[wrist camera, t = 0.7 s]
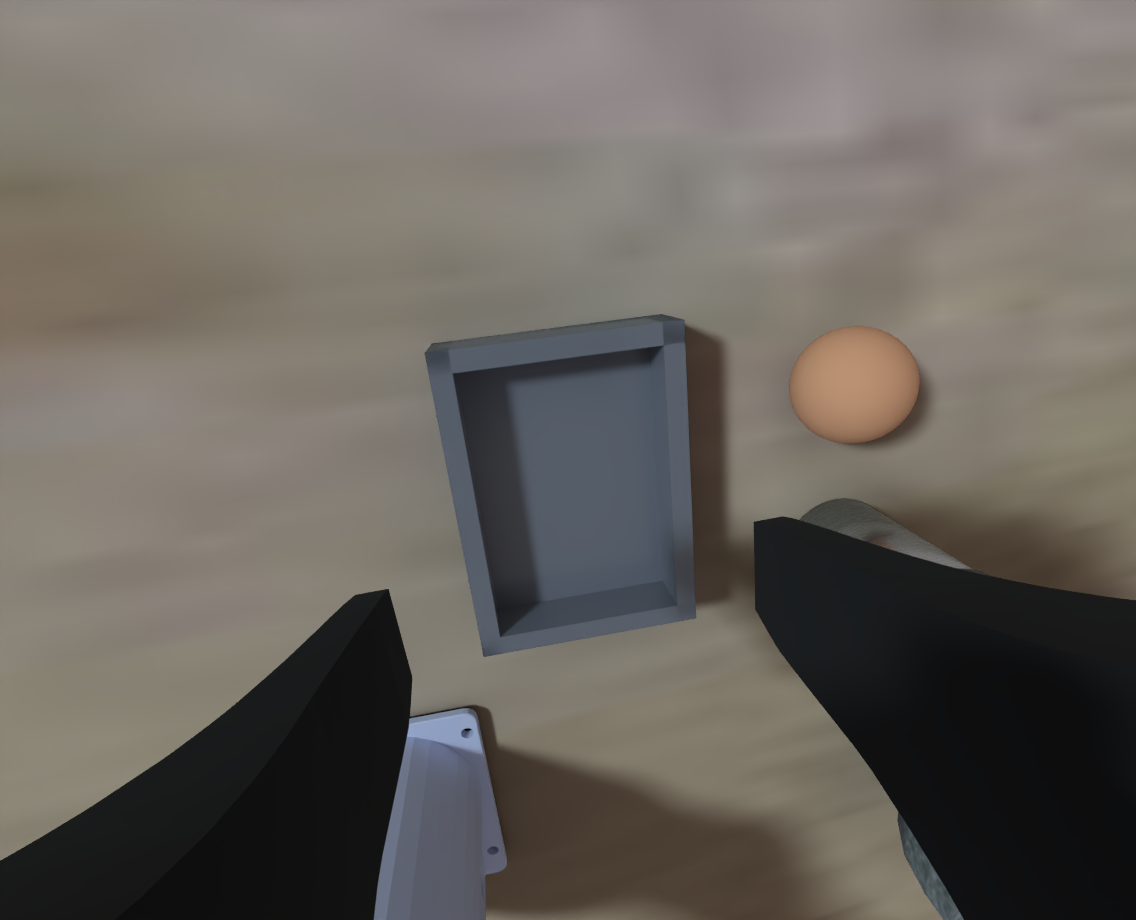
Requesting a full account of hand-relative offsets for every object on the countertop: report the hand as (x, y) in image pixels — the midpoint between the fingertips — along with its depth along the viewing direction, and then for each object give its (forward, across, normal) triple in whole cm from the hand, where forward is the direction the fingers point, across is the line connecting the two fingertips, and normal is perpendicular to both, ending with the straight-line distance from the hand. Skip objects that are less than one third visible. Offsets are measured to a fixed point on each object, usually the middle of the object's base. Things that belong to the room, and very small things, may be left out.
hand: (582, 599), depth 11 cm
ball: (+10, -11, -1) cm, 15 cm away
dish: (+10, -1, +1) cm, 10 cm away
